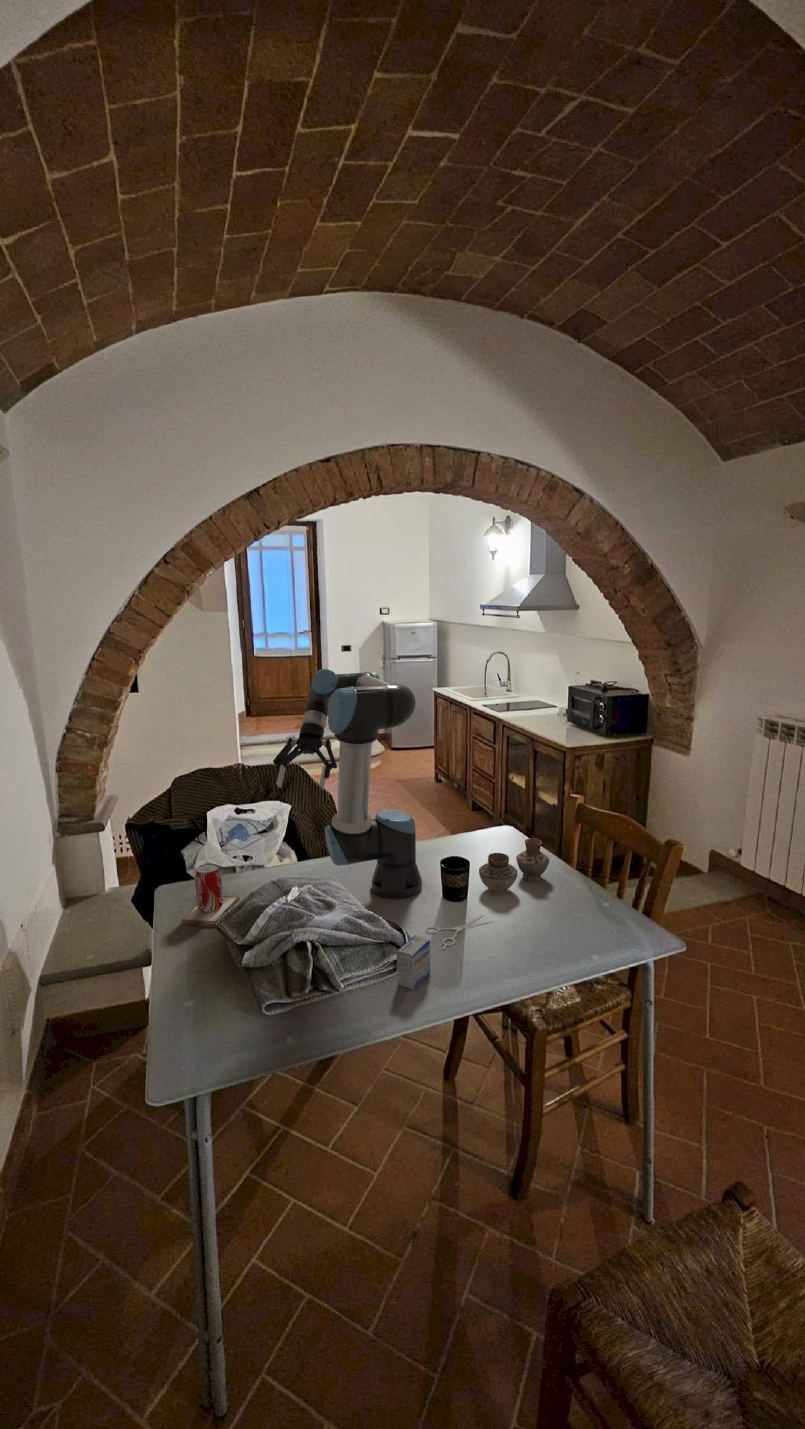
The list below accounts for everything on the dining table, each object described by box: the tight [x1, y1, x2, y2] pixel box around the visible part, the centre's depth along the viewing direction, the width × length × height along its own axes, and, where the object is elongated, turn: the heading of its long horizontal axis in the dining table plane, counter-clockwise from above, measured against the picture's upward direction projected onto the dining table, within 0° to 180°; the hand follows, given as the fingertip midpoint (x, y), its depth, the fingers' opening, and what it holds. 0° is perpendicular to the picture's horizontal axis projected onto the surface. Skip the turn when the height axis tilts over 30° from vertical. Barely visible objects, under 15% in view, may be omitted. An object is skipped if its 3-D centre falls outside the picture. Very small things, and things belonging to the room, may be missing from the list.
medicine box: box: [396, 934, 431, 990], centre depth 143 cm, size 8×4×9 cm, turn 148°
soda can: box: [194, 863, 224, 912], centre depth 174 cm, size 7×7×12 cm
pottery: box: [478, 838, 550, 896], centre depth 188 cm, size 11×25×12 cm, turn 125°
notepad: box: [180, 895, 240, 928], centre depth 175 cm, size 10×15×1 cm, turn 170°
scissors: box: [424, 914, 495, 951], centre depth 164 cm, size 11×1×20 cm
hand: (299, 786), depth 190 cm, fingers open, 13 cm apart
